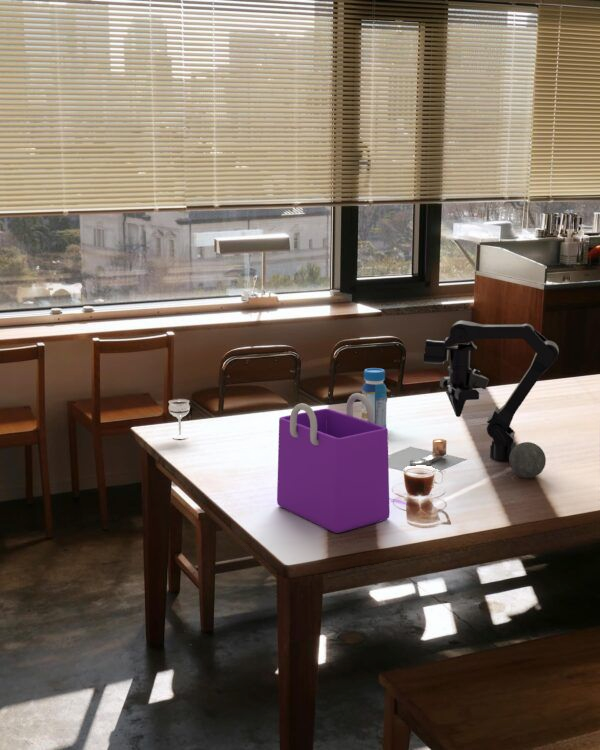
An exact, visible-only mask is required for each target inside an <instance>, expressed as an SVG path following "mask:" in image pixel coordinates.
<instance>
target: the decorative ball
mask: <svg viewBox="0 0 600 750" xmlns="http://www.w3.org/2000/svg"><path fill="white" fill-rule="evenodd" d="M546 461H547V458H546V454H545V452H544V451H543V449H542V447H541V446H539V445H538V444H536V443H534V442H530V441H526V442H525V441H524V442H520V443H518V444H516V446H515V447H514V448H513V449H512V451H511V453H510V456H509V462H508V463H509V467H510V469H511V470H512V471H513V473H514V474H515V475H516V476H518V477H521V478H524V479H531V478H535V477H537V476H540V475H541V473H542V472H543V471H544V469H545V466H546Z"/></svg>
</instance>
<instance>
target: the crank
mask: <svg viewBox="0 0 600 750" xmlns="http://www.w3.org/2000/svg"><path fill="white" fill-rule="evenodd" d="M447 444H448V443H447V440H446V439H444V438H434V439H433V440H432V451H433V454H432V455H430V456H428V457H425V458H423V459H412V460H410V466H416V465H426V466H431V463H432V462H434V461H436V460H439V459H441V458H443V456H444V455H446V454H447Z"/></svg>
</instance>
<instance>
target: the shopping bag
mask: <svg viewBox="0 0 600 750" xmlns="http://www.w3.org/2000/svg"><path fill="white" fill-rule="evenodd" d="M356 400H358V401H360V402H361V403H362V402H363V404H364V405H365V407H366V410H367V418H368V421H365V420H362V418H359V417H355V416H354V403H355V401H356ZM345 409H346V413H343V412H340V411H337V410H335V409H331V408H321V409H315V410H313V409H312V407H311V406H310V405H308V404H307V403H303V402H302V403H298V404H296V405H294V407H293V408H292V410H291V413H290V415H284V416H281V417H279V418H278V419H279V420H278V443H277V444H278V446H277V447H278V449H277V451H278V452H277V453H278V454H277V455H278V456H277V486H276V487H277V488H276V489H277V490H276V503H277V505H278V506H279V507H281V508H282V509H284V510H286V511H289V512H291V513H293V514H295V515H297V516H299V517H301V518H303V519H305V520H308V521H309V522H311V523H314V524H316V525H318V526H320V527H322V528H323V529H326V530H328V531H330V532H332V533H336V534H340V533H343V532H344V533H345V532H348V531H351V530H353V529H357V528H362V527H366V526H368V525H369V526H370V525H372V524H375V523H379V522H383V521H386V520H388V519H389V518H390V481H389V479H390V475H389V467H388V455H389V438H388V437H389V434H388V432H389V431H388V427H387V426H386V427H383V426H380V425H377V424H374V412H373V407H372V405H371V403H370V401H369V400H368V398H367V397H366V396H364V395H363V393H359V392H355V393H352V394H351V395H350V396H349V397H348V398H347V402H346V408H345ZM301 411H303V412H301Z"/></svg>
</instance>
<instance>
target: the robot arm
mask: <svg viewBox="0 0 600 750" xmlns="http://www.w3.org/2000/svg"><path fill="white" fill-rule="evenodd" d="M449 332H450V333H449V335H448V336H447V337H446V338H445V339H444V340H432V339H426V340H425V346H424V352H423V363H424V364H436V365H440V364H441V365H444V363H445V362H446V361H447V362H448V361H449V366H447V371H448V372H449V375H448V376H442V377H441V378H440V380H439V387H441V388H442V389H444V388H446V386H447V388H448V390H446V391H445V394H446V396H447V397H448V401H449V403H450V405H451V407H452V409H453V412H454V415H455V416H456V418H460V417H461V416H462V413H463V410H464V407H465V405H466V402H467V401H473V400H474V401H475V400H479V399H480V392H479V391H478V390H477V389H476V388H474V386H475V387H479V388H481V389H482V390H487V389H486V388H487V386H488V383H489V382H490V379H489V378H488V377H486V376H484V375H482V374H481V371H480V370H478V369H475V368H474V369H472V368H471V367H470V365H471V363H470V362H471V352H472V351H473V352H476V350H477V348H478V347H477V345H475V343H474V342H475V341H479V340H505V339H506V340H510V339H511V340H512V339H513V340H514V339H515V340H521V339H522V340H523V341H524V342H526V344H528V346H529V347H530V348H531V349H532V350H533V351H534V352H535V354H534V357H533V358H532V359H533V360H532V361H531V364H530V366H529V368H528V369H527V370H526V372H525V373H524V375H523V377H522V378H521V380H520V381H519V382H518V384H517V385H516V387H515V388H514V390H513V391H512V393H511V394H510V396H509V397H508V399H507V401H506V402H505V404H503V405H502V406H501V407H500V408H499V407H497V406H495V407H494V409H493V411H492V413H491V414H490V415H488V417H487V421H486V424H487V426H486V433H487V434H488V436H489V437H490V438H492V440H491V444H490V448H489V458H490V459H492V460H494V461H496V462H500V463H509V456H510V453H511V451H512V449H513V448H514V447H515V446H516V445H517V444H516V443H517V442H516V441H515V434H516V433H515V430H514V429H513V428H512V427H511V423H512V421H513V418H514V416H515V414H516V412H517V411H518V410H519V407H520V406H521V405H522V404H523V402H524V401H525V399H526V398H527V396H528V395H529V393H530V392H531V390H532V389H533V388H534V386H535V384H536V383H537V382H538V380H539V379H540V377H541V376H542V375H543V374H544V373H545V372H546V371H547V370H549V369H550V368H551V366H553V364H555V363H556V361H558V358H559V346H558V345H557V343H556V342H554V341H552V340H548V339H547V338H546V337H545V336H544V335H542V334H541V333H540V332H539V331H537V329H535V328H534V326H533V325H531V324H530V323H524V324H523V323H522V324H521V323H520V324H482V323H478V322H473V321H467V320H458V321H456V322H454V323H453V325H452V326H451V328H450V330H449ZM456 344H457V345H456ZM449 352H450V353H449Z"/></svg>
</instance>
